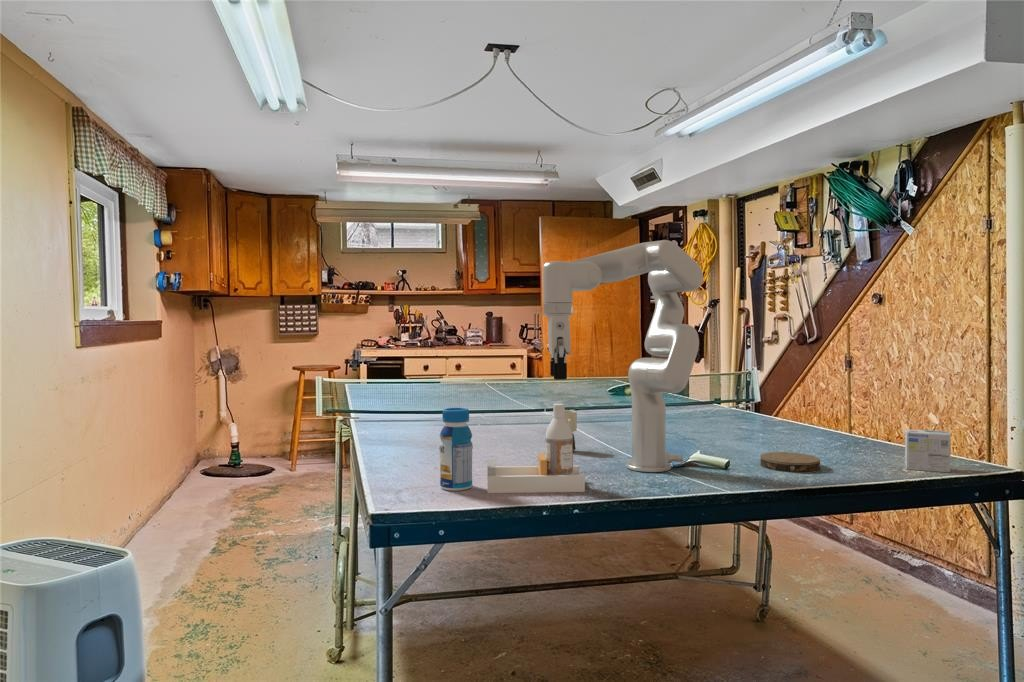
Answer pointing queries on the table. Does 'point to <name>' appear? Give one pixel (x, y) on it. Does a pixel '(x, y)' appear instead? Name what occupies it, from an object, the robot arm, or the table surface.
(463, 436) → the beverage bottle
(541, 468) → the orange rectangular block
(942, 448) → the light bulb box
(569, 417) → the character mug
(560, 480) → the pusher lane
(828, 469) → the table surface
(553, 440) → the bath foam
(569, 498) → the table surface
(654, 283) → the robot arm
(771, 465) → the brown round disc
